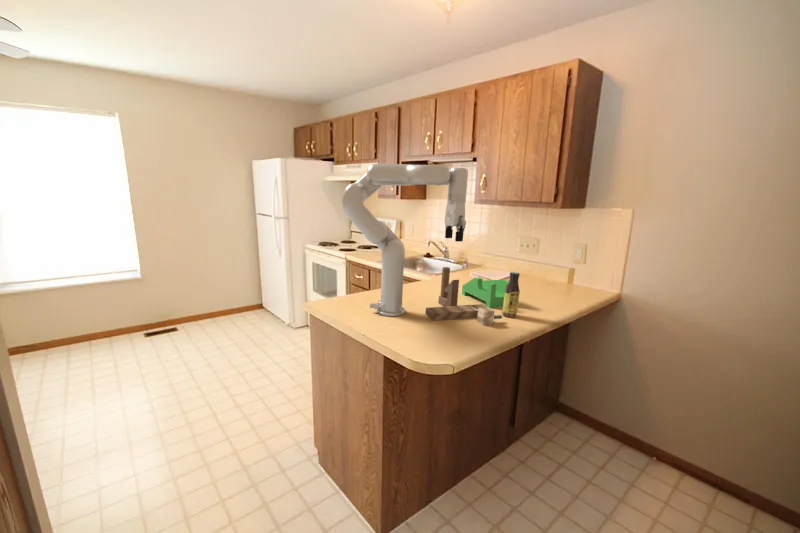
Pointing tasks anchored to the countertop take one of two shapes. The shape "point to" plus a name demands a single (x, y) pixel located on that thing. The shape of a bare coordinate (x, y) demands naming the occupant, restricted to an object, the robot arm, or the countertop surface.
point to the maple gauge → (486, 316)
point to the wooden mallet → (448, 289)
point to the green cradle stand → (486, 291)
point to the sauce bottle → (511, 296)
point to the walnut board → (453, 312)
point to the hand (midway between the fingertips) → (453, 239)
